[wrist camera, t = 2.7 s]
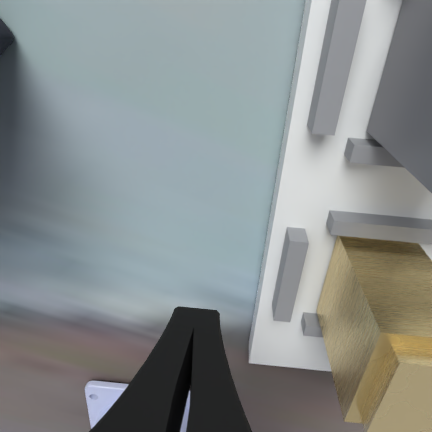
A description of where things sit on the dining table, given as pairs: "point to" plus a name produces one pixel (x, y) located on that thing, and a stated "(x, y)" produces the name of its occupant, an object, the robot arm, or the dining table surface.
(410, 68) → the slider graphite
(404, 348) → the slider brass
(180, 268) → the dining table surface
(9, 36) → the small box
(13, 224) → the dining table surface
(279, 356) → the control board
